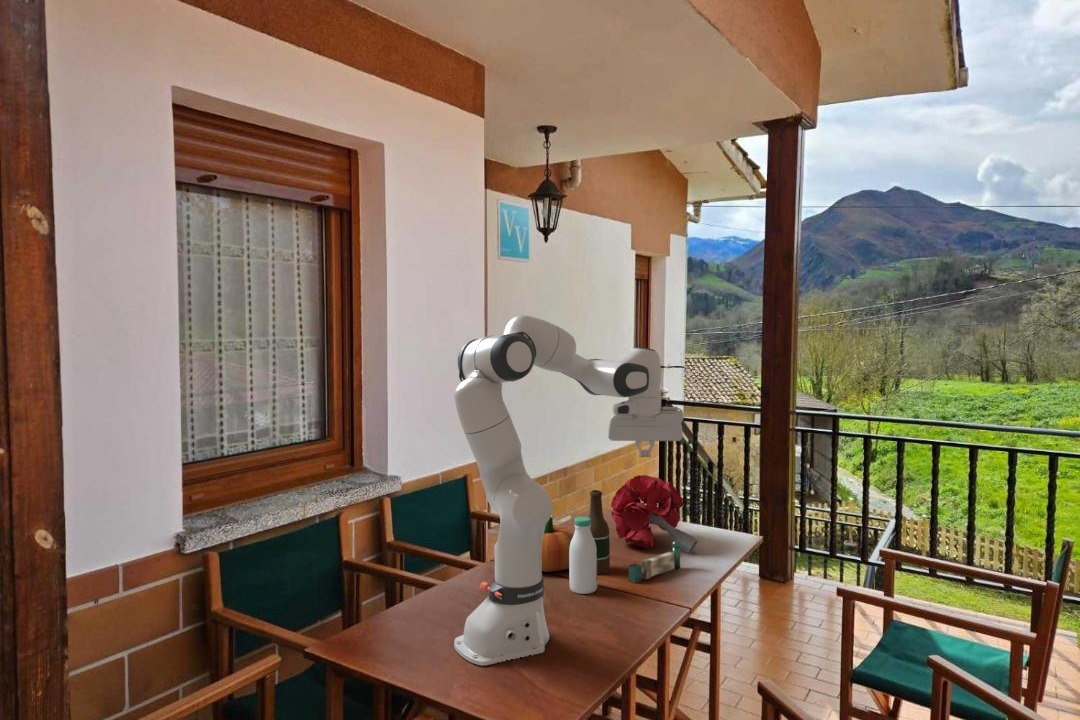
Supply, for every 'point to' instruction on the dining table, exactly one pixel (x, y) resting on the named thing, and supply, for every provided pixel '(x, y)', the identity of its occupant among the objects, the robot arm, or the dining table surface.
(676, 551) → the hinge post
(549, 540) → the pumpkin
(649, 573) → the grey rectangular bar
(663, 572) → the grey metal rod
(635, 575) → the dark green brushed box
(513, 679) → the dining table surface
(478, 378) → the robot arm
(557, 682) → the dining table surface
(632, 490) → the bouquet
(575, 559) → the milk bottle
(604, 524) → the beer bottle
